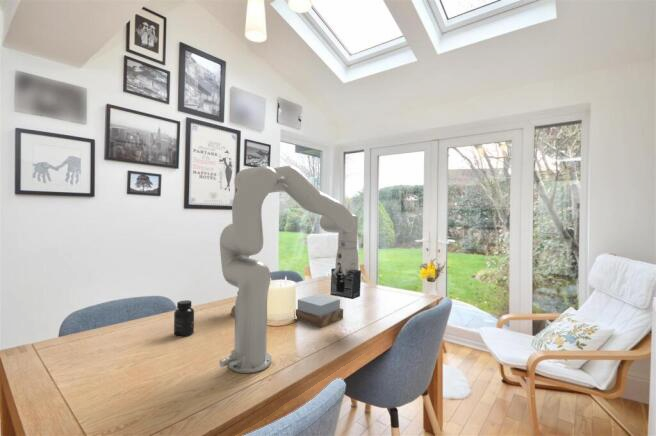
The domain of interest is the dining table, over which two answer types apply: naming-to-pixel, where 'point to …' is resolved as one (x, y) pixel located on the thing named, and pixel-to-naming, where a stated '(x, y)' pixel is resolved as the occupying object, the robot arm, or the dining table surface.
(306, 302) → the tower top
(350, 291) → the small box
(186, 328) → the supplement bottle
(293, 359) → the dining table surface
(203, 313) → the dining table surface
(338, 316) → the tower base
